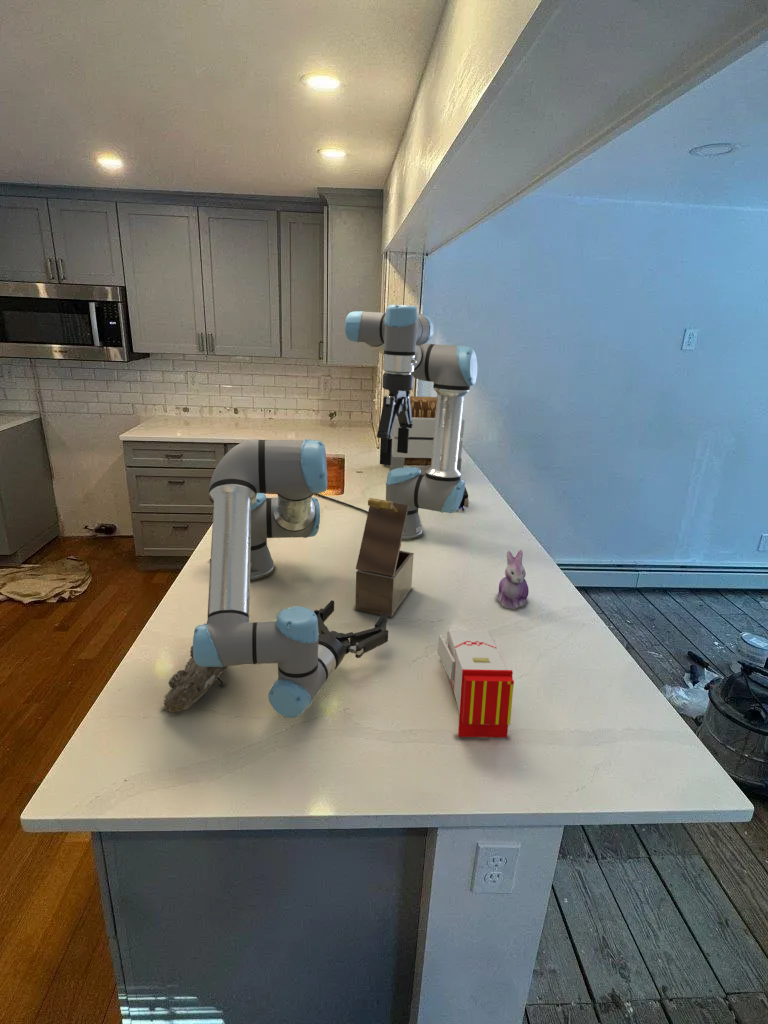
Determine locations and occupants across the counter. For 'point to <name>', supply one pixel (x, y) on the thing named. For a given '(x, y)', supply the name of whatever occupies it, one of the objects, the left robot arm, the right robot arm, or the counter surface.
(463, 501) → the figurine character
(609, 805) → the counter surface
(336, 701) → the counter surface
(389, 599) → the chest
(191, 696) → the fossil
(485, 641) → the toy
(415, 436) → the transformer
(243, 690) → the counter surface
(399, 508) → the lid
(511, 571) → the figurine
